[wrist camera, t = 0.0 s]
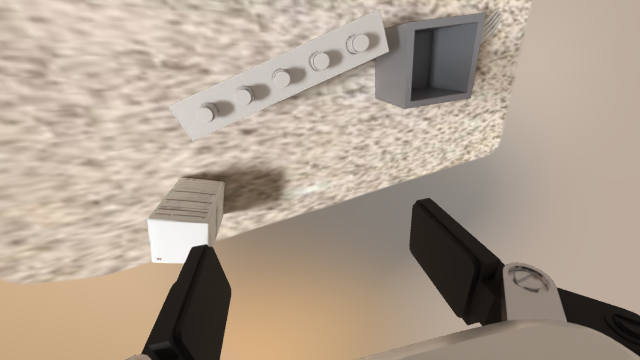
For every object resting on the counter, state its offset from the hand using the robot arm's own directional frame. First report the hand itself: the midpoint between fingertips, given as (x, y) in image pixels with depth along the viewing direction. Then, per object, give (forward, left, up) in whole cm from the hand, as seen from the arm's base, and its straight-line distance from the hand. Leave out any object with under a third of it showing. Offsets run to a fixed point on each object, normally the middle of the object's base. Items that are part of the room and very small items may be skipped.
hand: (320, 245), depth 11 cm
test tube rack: (-6, 0, -32) cm, 32 cm away
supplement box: (+12, -17, -32) cm, 38 cm away
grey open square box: (-5, +20, -31) cm, 37 cm away
